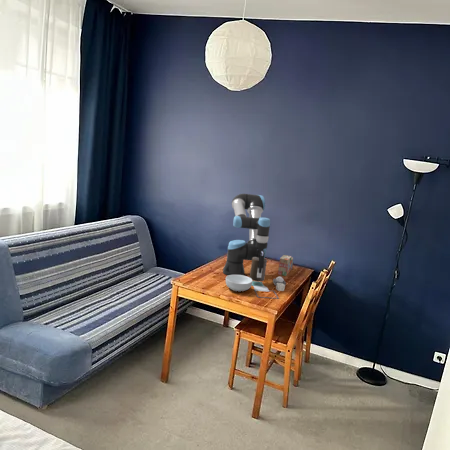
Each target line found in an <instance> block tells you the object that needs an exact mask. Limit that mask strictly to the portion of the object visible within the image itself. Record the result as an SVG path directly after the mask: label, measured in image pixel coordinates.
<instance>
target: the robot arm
mask: <svg viewBox="0 0 450 450" xmlns="http://www.w3.org/2000/svg"><path fill="white" fill-rule="evenodd" d="M231 207H232V209H233V211H234V215H235V216H234V217H233V221H232V223H233V224H232V225H233V227H234V228H238V229H249V230H248V231H249V235H248V236H249V240H247V241H245V240H243V239H234V240H230V241H229V242H228V246H227V255H226V262H225V264H224V266H223V269H222V274H224V275H226V276H228V275H243V276H245V267H244V260H245V261H252V258H253V257H258V258H259V267H257V268H258V272H257V278H261V275H262V268H263V266H264V258H265V257H266V255H267V249H268V244H269V243H268V242H269V239H270V237H269V235H270V227H271V219H270V218H268V217H262V214H263V212H264V211H265V209H266V199H265V196H264V195H260V194H250V193H239V194H237V195H236V196H235V197H233V199H232V201H231ZM246 211H247V212H246ZM247 214H249V216H247ZM265 259H266V258H265Z"/></svg>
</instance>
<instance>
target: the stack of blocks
mask: <svg viewBox="0 0 450 450" xmlns="http://www.w3.org/2000/svg"><path fill="white" fill-rule="evenodd" d="M293 264H294V257H293V256H292V255H287V254H283V255H282V256H281V257H279V263H278V270H277V275H278V276H283V277H286V276H288V275H289V274H290V272H291V270H292V269H293Z"/></svg>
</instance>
